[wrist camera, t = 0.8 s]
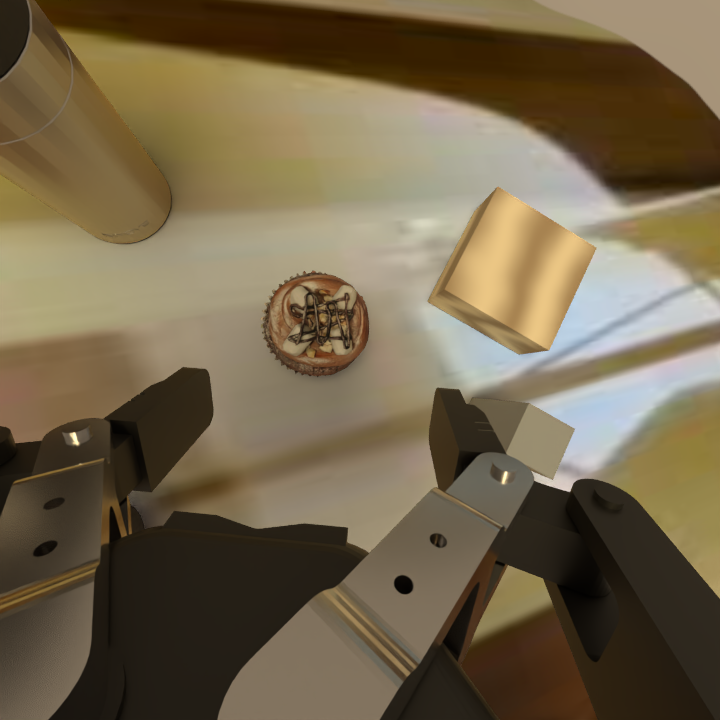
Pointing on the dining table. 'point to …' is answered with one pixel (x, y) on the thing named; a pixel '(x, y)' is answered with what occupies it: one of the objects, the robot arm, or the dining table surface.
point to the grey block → (528, 433)
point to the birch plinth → (513, 274)
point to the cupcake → (316, 324)
